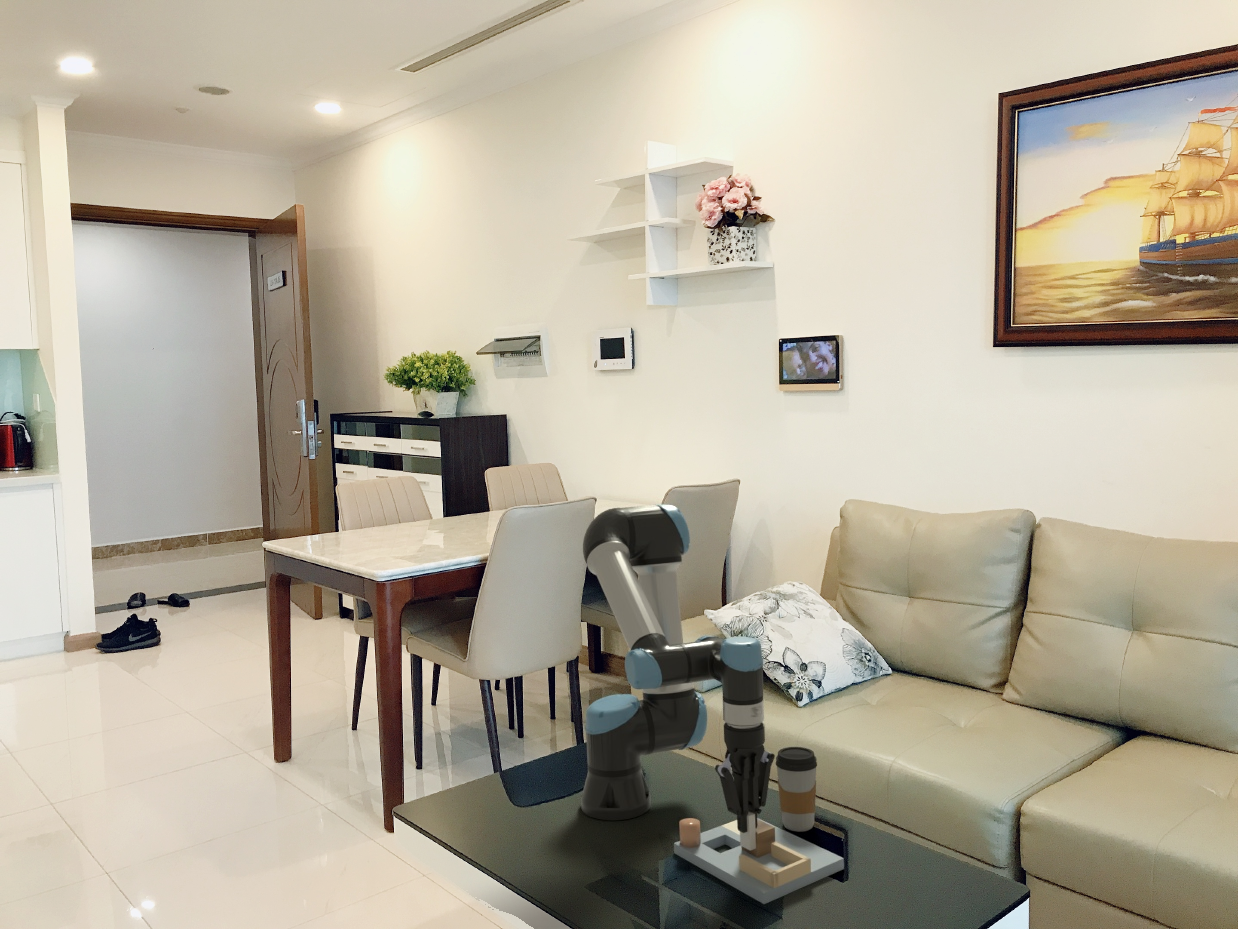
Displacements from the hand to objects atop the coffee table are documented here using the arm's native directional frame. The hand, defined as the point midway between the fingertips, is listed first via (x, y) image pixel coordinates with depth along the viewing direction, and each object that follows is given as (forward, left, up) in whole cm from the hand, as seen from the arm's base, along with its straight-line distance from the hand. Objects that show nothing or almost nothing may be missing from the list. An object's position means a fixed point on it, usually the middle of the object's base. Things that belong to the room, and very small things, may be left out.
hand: (748, 846), depth 180 cm
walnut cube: (-1, +3, -2) cm, 3 cm away
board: (-1, +3, -4) cm, 5 cm away
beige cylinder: (-11, -5, -2) cm, 12 cm away
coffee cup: (-7, +20, -4) cm, 21 cm away
